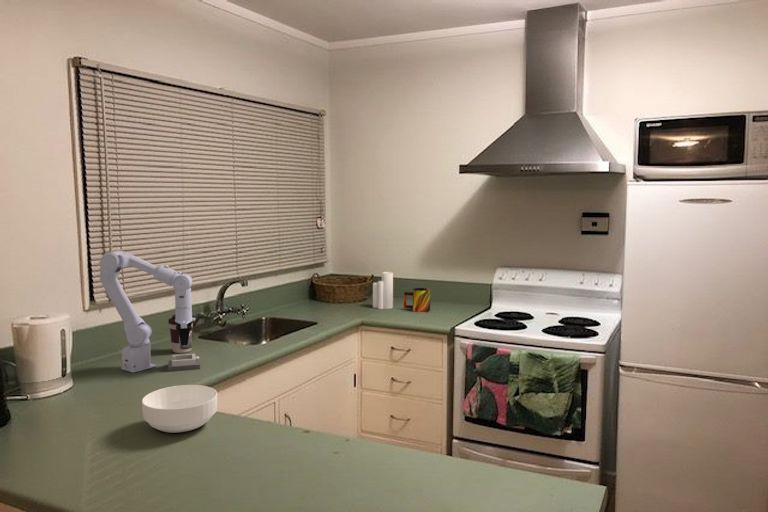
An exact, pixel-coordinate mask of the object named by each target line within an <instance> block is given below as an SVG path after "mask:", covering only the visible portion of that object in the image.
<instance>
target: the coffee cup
mask: <svg viewBox="0 0 768 512" xmlns="http://www.w3.org/2000/svg"><path fill="white" fill-rule="evenodd" d="M192 318H195V317H193V316H192ZM175 319H176V313H175V314H173V315H171V317H170V318H168V324H169V326H170V327H169V332H170V342H171V346H172V347H171V348H172V349H171V350H172V352H173V353H174V354H175V353H176V354H187V353H189V352H191V351H192V348H193V347H192V348H190V349H180V347H179V334H178V332H177V330H176V326H177V325H176V323H177V322H175ZM191 322H192V325H191V326H192V329H191V330H192V341H193V337H194V332H193V331H194V326H193V325H194V323H195V321H191Z"/></svg>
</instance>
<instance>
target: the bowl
mask: <svg viewBox="0 0 768 512" xmlns="http://www.w3.org/2000/svg"><path fill="white" fill-rule="evenodd" d="M141 409H142V417H143V420H144V421H145V422H147V423H148V425H149V426H150V427H151V428H154V429H156V430H159V431H161V432H164V433H185V432H189V431H192V430H195V429H196V430H197V429H198V428H200V427H201V426H203V425H205V424H206V423H207V422H209V421H210V420H211V419H212V417H213V415H214V414H216V413H217V411H218V391H217V390H216V389H215V388H213V387H210V386H207V385H201V384H183V385H172V386H168V387H163V388H160V389H157V390H153V391H151V392H150V393H148V394H146V395H144V396H143V398H142V400H141Z"/></svg>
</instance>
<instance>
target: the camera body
mask: <svg viewBox="0 0 768 512" xmlns="http://www.w3.org/2000/svg"><path fill="white" fill-rule="evenodd" d="M200 359H201V358H200V356H198V355H197V356H196V353H181V354H172V356H171V360H168V363H167V372H168V373H169V372H178V371H191V370H200V369H201V361H200Z"/></svg>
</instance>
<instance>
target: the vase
mask: <svg viewBox="0 0 768 512" xmlns="http://www.w3.org/2000/svg"><path fill="white" fill-rule="evenodd" d="M372 308H374V309H378V310H383V309H385V310H388V309H393V308H394V272H393V271H381V280H378V281H377V282H373V283H372Z"/></svg>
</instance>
